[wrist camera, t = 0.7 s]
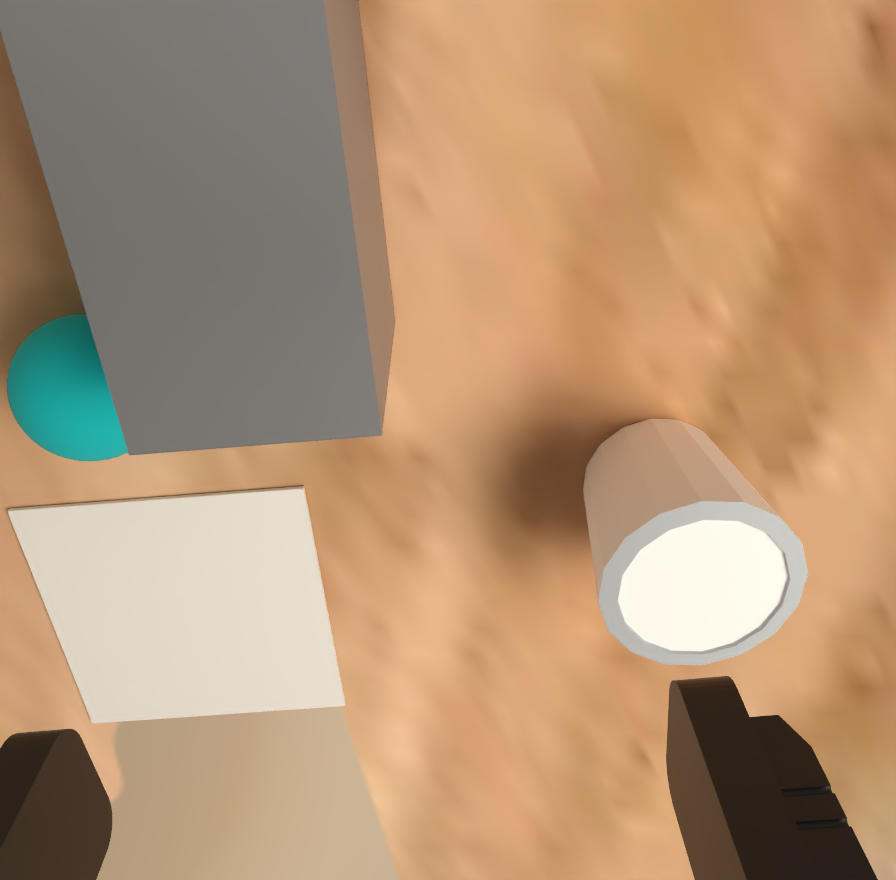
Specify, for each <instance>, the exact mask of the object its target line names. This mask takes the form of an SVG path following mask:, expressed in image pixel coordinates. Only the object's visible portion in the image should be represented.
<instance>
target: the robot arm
mask: <svg viewBox="0 0 896 880" xmlns="http://www.w3.org/2000/svg"><path fill="white" fill-rule="evenodd" d="M666 763H667V775H668V782H669V788H670V793H671V798H672V803H673V806H674V810H675V813H676V817H677V820H678V824H679V827H680V830H681V834H682V837H683V841H684V844H685V847H686V851H687V854H688V858H689V861H690V864H691V868H692V871H693V875H694V878H695V880H878V879H877V877H876V875H875V873H874V871H873V869H872V867H871V865H870V863H869V861H868V859H867V857H866V855H865V853H864V851H863V849H862V847H861V845H860V843H859V841H858V839H857V837H856V835H855V833H854V831H853V829H852V827H851V826H850V827H849V825H848V823H847V817H846V815H845V813H844V811H843V809H842V807H841V805H840V803H839V801H838V799H837V797H836V795H835V793H832V791H831V785H830V783H829V781H828V779H827V777H826V775H825V773H824V771H823V769H822V767H821V765H820V763H819V761H818V759H817V757H816V755H815V753H814V751H813V749H812V747H811V746H810V745H809V744H808V743H807V742H806V741H805V740H804V739H803V738H802V737H801V736H800V735H799V734H798V733H797V732H796V731H794V730H793V729H792V728H791V727H790V726H789V725H788V724H787V723H786V722H785V721H784V720H783V719H782V718H781V717H780V716H779V715H771V716H759V717H749V715H748V712H747V710H746V708H745V706H744V703H743V701H742V699H741V696H740V694H739V692H738V689H737V687H736V685H735V683H734V682H733V680H732V679H731V678H730V677H729V676H722V677H710V678H698V679H686V680H674V681H672V682H671V684H670V690H669V710H668V731H667V753H666ZM111 831H112V810H111V804H110V800H109V798H108V795H107V793H106V791H105V789H104V787H103V784H102V782H101V780H100V778H99V776H98V774H97V771H96V769H95V767H94V765H93V763H92V761H91V758H90V756H89V754H88V752H87V750H86V747H85V745H84V743H83V741H82V739H81V737H80V735H79V734H78V733H77V732H76V731H75V730H73V729H62V730H50V731H38V732H26V733H16V734H14V735H12V736H10V737H9V738H8V739H7V740H6V741H5V742H4V744H3V745H2V747H1V748H0V880H96V879H97V876H98V873H99V871H100V868H101V865H102V863H103V860H104V858H105V855H106V852H107V849H108V846H109V842H110V838H111Z"/></svg>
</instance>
